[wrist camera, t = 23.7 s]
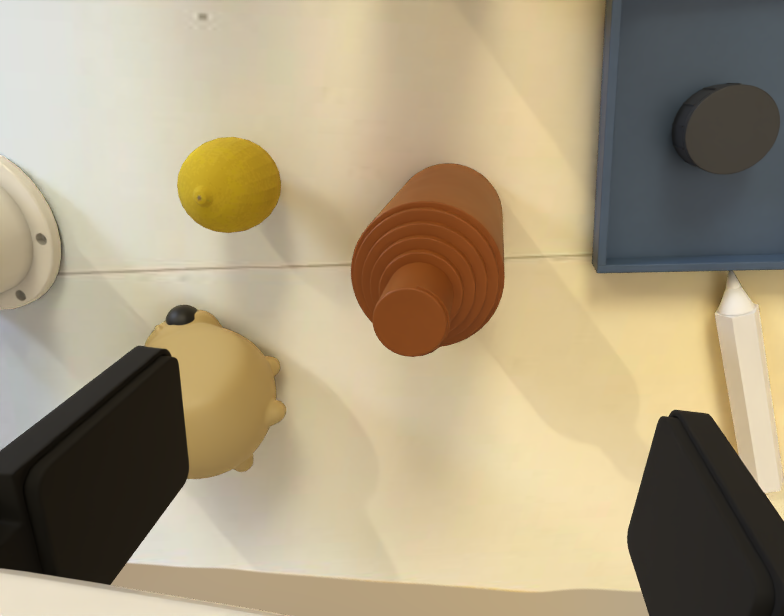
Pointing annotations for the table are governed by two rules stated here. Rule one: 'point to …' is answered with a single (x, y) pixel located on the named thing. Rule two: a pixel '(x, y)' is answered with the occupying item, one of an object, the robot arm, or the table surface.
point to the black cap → (726, 128)
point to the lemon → (229, 185)
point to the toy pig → (219, 390)
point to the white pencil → (749, 385)
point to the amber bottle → (432, 261)
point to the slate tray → (655, 146)
